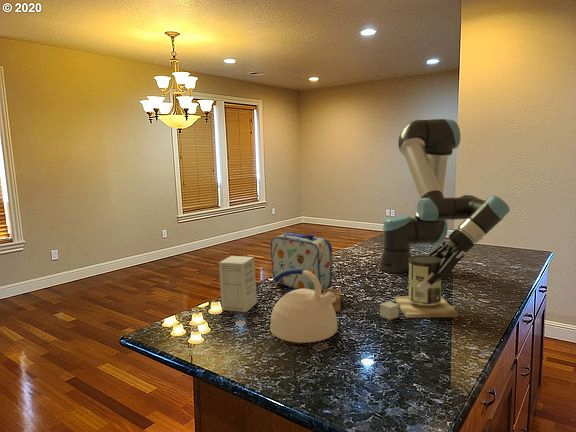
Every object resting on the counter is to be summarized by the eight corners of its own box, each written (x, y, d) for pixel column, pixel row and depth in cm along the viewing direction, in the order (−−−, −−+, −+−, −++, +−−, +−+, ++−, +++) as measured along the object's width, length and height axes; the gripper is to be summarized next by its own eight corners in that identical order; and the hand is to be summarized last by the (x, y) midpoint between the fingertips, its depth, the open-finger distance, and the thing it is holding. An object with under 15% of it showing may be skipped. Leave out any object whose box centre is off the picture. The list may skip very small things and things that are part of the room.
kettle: (319, 350, 108) (317, 284, 105) (256, 333, 118) (253, 274, 116) (349, 322, 124) (349, 265, 122) (292, 310, 135) (290, 257, 133)
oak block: (323, 299, 145) (323, 288, 144) (340, 299, 144) (340, 289, 143) (322, 304, 140) (322, 293, 139) (340, 305, 139) (340, 293, 138)
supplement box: (257, 303, 143) (255, 256, 140) (246, 313, 134) (244, 263, 131) (233, 300, 146) (230, 255, 143) (220, 310, 137) (218, 261, 135)
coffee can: (438, 295, 138) (439, 255, 136) (443, 306, 128) (444, 263, 126) (406, 294, 140) (407, 254, 138) (409, 305, 130) (410, 262, 128)
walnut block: (320, 308, 137) (320, 294, 136) (334, 306, 138) (333, 292, 137) (326, 313, 132) (326, 298, 131) (340, 311, 133) (340, 296, 133)
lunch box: (339, 291, 152) (338, 234, 149) (322, 299, 145) (321, 238, 142) (286, 277, 171) (284, 226, 168) (268, 284, 164) (266, 230, 160)
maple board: (394, 299, 142) (394, 296, 142) (440, 298, 142) (440, 295, 142) (406, 317, 126) (406, 314, 126) (458, 316, 126) (458, 313, 126)
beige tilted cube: (379, 316, 129) (380, 304, 128) (388, 313, 131) (388, 301, 130) (389, 320, 125) (389, 307, 125) (398, 317, 127) (398, 304, 127)
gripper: (490, 252, 119) (435, 304, 122) (460, 237, 142) (413, 281, 144) (472, 235, 119) (417, 288, 122) (445, 222, 141) (399, 267, 144)
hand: (415, 284), depth 133 cm, fingers closed on coffee can, 10 cm apart
